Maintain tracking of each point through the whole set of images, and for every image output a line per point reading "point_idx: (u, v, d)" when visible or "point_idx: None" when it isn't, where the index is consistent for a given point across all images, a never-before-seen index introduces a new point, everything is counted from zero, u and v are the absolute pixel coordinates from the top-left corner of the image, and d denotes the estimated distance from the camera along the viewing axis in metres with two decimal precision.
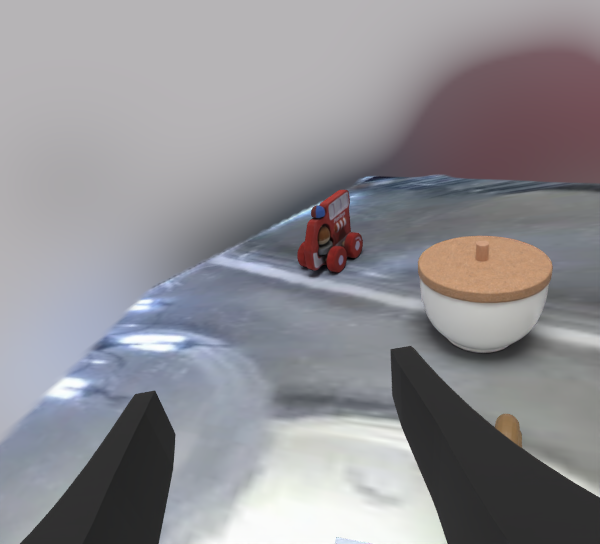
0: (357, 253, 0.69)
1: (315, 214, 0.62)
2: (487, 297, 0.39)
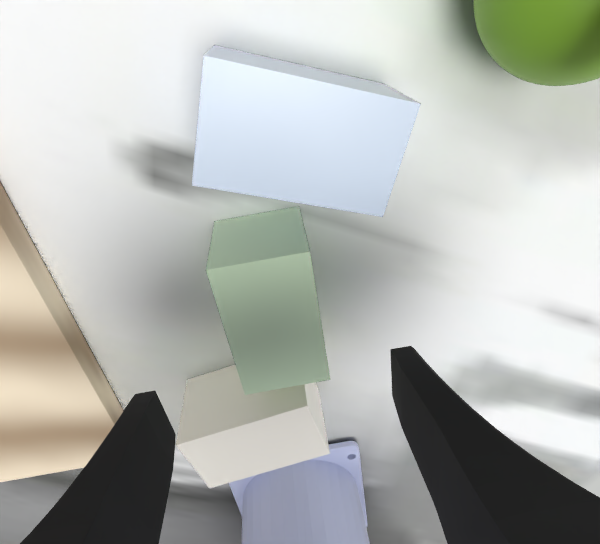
0: None
1: None
2: None
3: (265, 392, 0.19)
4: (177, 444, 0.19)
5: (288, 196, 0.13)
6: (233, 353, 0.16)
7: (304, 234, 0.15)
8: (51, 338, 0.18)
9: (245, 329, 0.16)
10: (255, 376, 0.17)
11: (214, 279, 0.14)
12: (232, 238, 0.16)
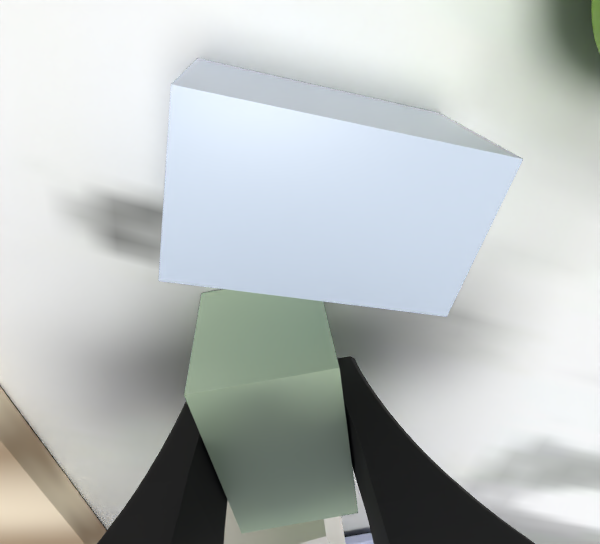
0: None
1: None
2: None
3: None
4: None
5: (308, 293, 0.09)
6: (225, 490, 0.12)
7: (328, 331, 0.11)
8: None
9: (242, 463, 0.11)
10: (256, 513, 0.12)
11: (197, 406, 0.10)
12: (224, 330, 0.11)
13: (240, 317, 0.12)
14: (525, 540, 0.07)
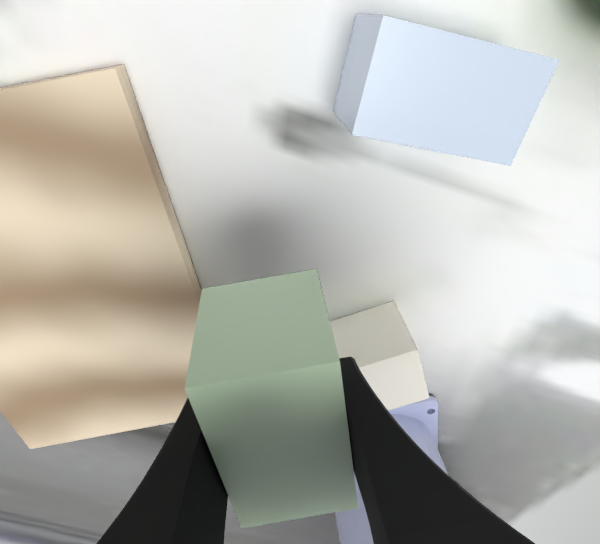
0: None
1: None
2: None
3: (372, 341, 0.21)
4: None
5: (432, 145, 0.15)
6: (226, 484, 0.12)
7: (328, 325, 0.11)
8: (182, 291, 0.20)
9: (242, 457, 0.11)
10: (256, 508, 0.12)
11: (198, 399, 0.10)
12: (225, 324, 0.11)
13: (240, 312, 0.12)
14: (525, 539, 0.07)
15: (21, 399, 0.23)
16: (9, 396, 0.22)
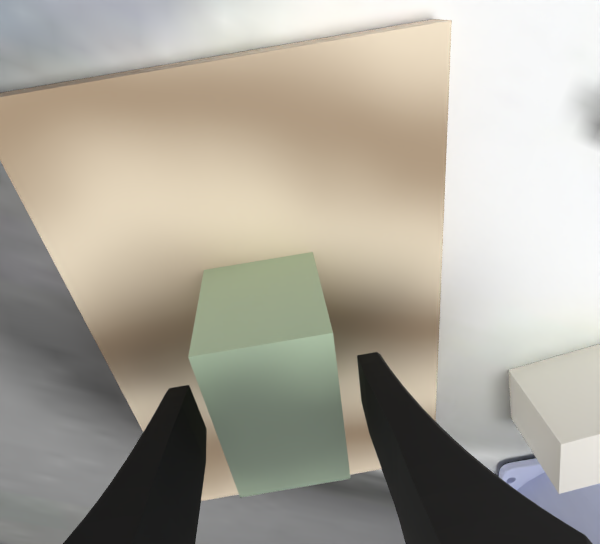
0: None
1: None
2: None
3: None
4: (563, 443, 0.16)
5: None
6: (225, 452, 0.12)
7: (323, 301, 0.11)
8: (424, 321, 0.16)
9: (241, 425, 0.12)
10: (254, 477, 0.13)
11: (200, 368, 0.10)
12: (225, 301, 0.12)
13: (240, 290, 0.12)
14: (574, 532, 0.07)
15: None
16: None
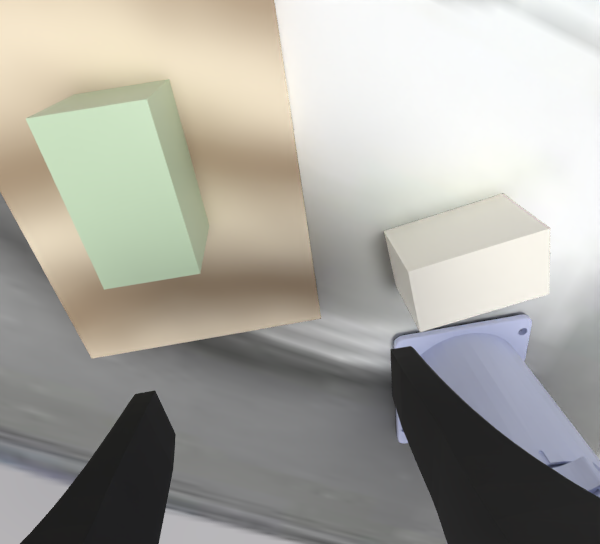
0: None
1: None
2: None
3: (489, 226, 0.19)
4: (409, 271, 0.18)
5: None
6: (80, 233, 0.14)
7: (153, 91, 0.13)
8: (284, 159, 0.18)
9: (88, 202, 0.14)
10: (112, 265, 0.15)
11: (38, 132, 0.12)
12: (77, 100, 0.14)
13: (94, 96, 0.14)
14: None
15: (90, 294, 0.20)
16: (76, 289, 0.20)
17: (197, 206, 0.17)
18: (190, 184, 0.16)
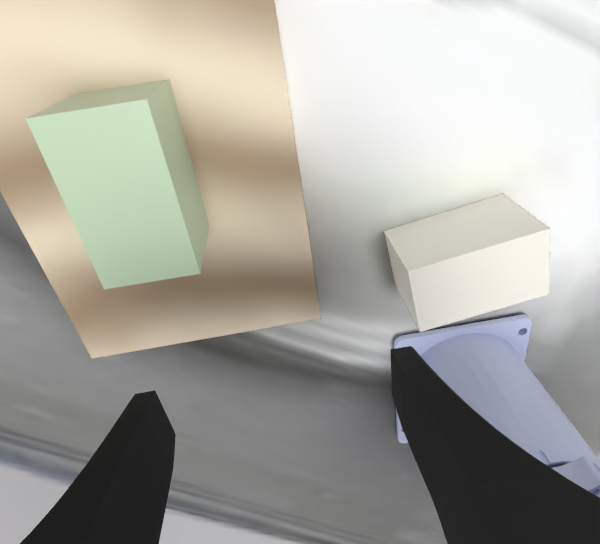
0: None
1: None
2: None
3: (489, 226, 0.19)
4: (409, 270, 0.18)
5: None
6: (80, 233, 0.14)
7: (153, 91, 0.13)
8: (284, 159, 0.18)
9: (88, 202, 0.14)
10: (112, 265, 0.15)
11: (38, 131, 0.12)
12: (77, 100, 0.14)
13: (94, 96, 0.14)
14: None
15: (90, 294, 0.20)
16: (76, 289, 0.20)
17: (197, 206, 0.17)
18: (190, 184, 0.16)
